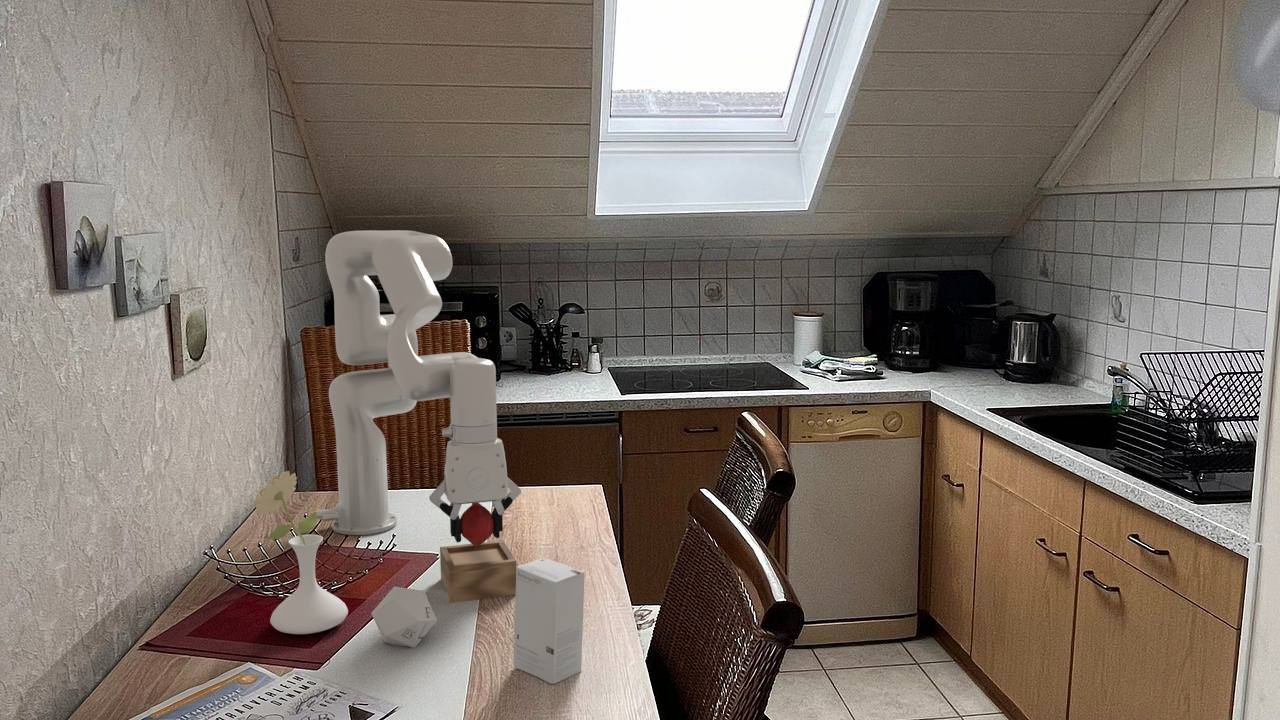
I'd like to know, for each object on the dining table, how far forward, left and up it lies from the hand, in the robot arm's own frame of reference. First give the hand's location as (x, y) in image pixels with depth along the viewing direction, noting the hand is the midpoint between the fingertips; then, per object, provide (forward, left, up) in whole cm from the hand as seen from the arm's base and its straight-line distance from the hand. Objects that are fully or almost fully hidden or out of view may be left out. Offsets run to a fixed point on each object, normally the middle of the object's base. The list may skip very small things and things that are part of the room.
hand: (476, 536), depth 168 cm
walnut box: (0, 0, -9) cm, 9 cm away
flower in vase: (-28, -8, -9) cm, 30 cm away
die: (-14, -18, -9) cm, 25 cm away
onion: (0, 0, -2) cm, 2 cm away
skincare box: (+4, -34, -9) cm, 35 cm away
